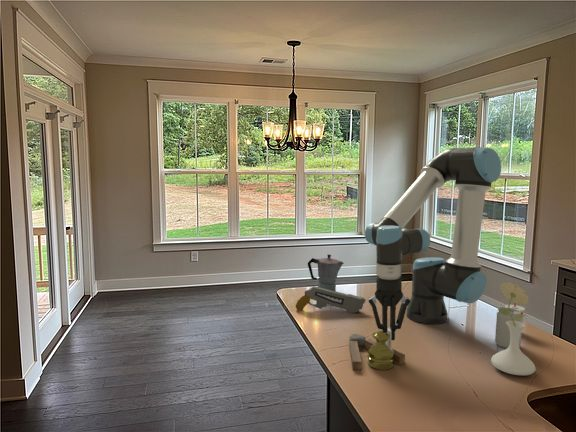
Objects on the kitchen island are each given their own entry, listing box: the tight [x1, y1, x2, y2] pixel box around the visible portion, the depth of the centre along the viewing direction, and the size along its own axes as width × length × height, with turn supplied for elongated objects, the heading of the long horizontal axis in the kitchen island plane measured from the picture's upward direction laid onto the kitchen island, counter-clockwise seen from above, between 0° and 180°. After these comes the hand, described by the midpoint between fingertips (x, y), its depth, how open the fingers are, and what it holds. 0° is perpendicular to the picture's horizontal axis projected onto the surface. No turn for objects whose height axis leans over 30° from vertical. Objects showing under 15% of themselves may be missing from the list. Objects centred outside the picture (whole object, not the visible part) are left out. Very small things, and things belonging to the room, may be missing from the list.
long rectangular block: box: [364, 338, 406, 366], centre depth 129 cm, size 2×14×2 cm, turn 35°
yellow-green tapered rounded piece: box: [367, 330, 394, 371], centre depth 123 cm, size 7×7×10 cm
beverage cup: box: [504, 303, 526, 315], centre depth 147 cm, size 6×6×14 cm
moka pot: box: [307, 254, 344, 292], centre depth 181 cm, size 10×15×20 cm, turn 89°
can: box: [494, 307, 524, 350], centre depth 136 cm, size 8×8×12 cm
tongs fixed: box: [348, 333, 367, 371], centre depth 129 cm, size 5×20×2 cm, turn 176°
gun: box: [295, 285, 367, 314], centre depth 168 cm, size 3×25×15 cm, turn 87°
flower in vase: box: [490, 281, 537, 376], centre depth 120 cm, size 13×11×25 cm
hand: (388, 349), depth 131 cm, fingers closed
